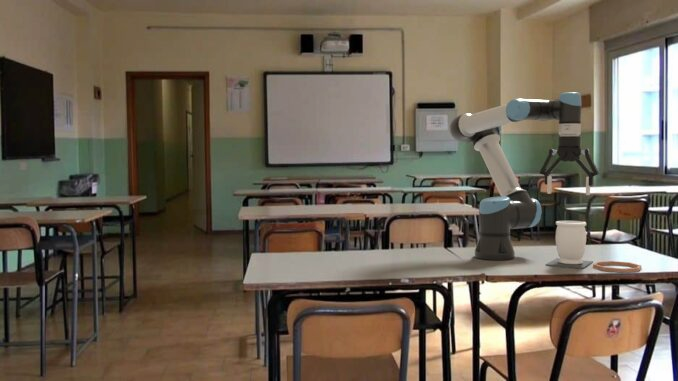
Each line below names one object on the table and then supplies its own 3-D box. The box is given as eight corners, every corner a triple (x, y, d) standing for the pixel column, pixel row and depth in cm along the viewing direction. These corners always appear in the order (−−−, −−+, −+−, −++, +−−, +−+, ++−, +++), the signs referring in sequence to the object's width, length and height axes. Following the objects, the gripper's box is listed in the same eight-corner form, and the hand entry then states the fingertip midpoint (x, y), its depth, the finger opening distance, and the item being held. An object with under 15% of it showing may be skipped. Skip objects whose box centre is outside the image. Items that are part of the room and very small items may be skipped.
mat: (545, 265, 222) (545, 264, 222) (556, 259, 235) (556, 258, 235) (583, 269, 215) (583, 267, 215) (592, 262, 227) (592, 261, 227)
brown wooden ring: (590, 269, 214) (590, 266, 214) (599, 263, 226) (599, 260, 226) (636, 273, 206) (636, 270, 206) (643, 266, 218) (643, 263, 218)
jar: (549, 261, 228) (549, 220, 227) (572, 259, 231) (573, 219, 230) (568, 266, 218) (568, 223, 217) (592, 264, 221) (592, 222, 220)
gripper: (531, 136, 228) (530, 193, 229) (603, 135, 214) (602, 196, 215) (538, 136, 234) (537, 192, 235) (608, 135, 220) (607, 195, 221)
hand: (568, 194), depth 225 cm, fingers open, 13 cm apart
